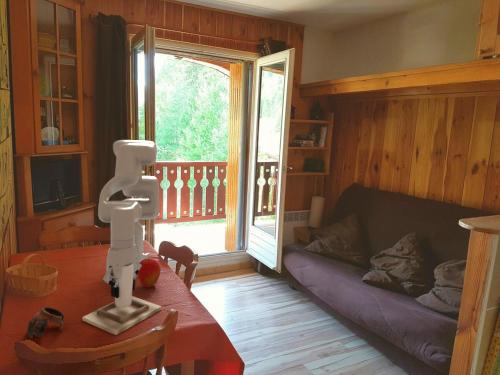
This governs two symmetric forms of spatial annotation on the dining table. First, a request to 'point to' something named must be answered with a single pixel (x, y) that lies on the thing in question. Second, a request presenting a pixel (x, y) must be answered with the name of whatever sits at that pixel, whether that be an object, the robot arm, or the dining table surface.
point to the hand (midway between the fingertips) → (123, 292)
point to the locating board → (121, 315)
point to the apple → (149, 272)
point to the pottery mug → (44, 321)
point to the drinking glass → (125, 287)
